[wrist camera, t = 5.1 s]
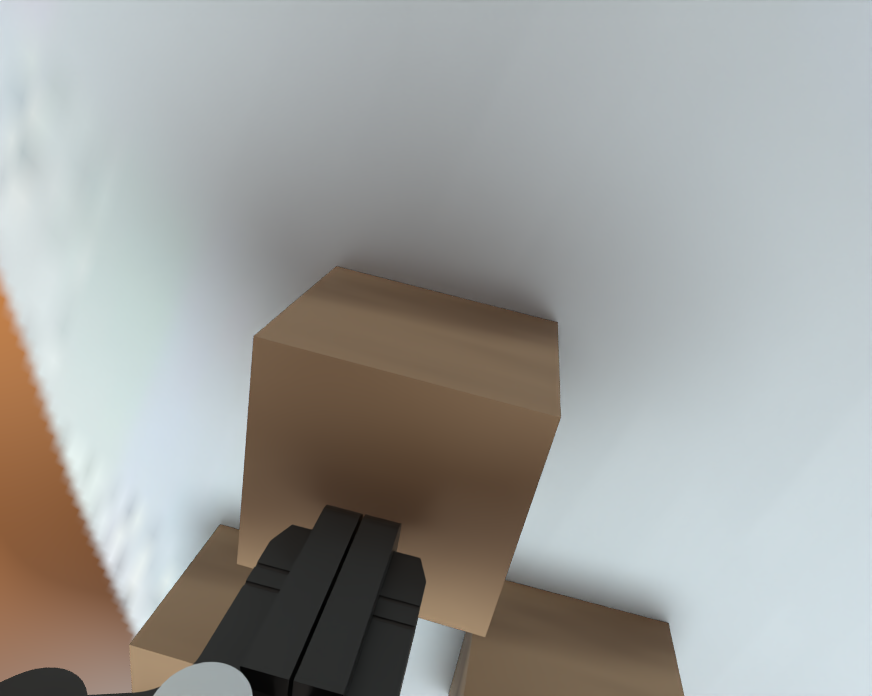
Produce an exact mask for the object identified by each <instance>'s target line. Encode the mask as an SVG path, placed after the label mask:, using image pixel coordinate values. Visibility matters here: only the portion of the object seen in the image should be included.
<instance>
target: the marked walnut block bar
mask: <svg viewBox="0 0 872 696" xmlns="http://www.w3.org/2000/svg"><path fill="white" fill-rule="evenodd" d="M448 696H684V693H683V688H682V683H681V679H680V674H679V669H678V665H677V660H676V656H675V651H674V646H673V642H672V637H671V632H670V628H669V623H666V622H662V621H658V620H655V619H651V618H647V617H643V616H639V615H636V614H632V613H628V612H624V611H620V610H617V609H613V608H609V607H605V606H602V605H598V604H594V603H590V602H586V601H583V600H579V599H575V598H571V597H567V596H564V595H560V594H556V593H552V592H548V591H545V590H541V589H537V588H533V587H530V586H526V585H522V584H518V583H514V582H511V581H507V580H505V581H504V584H503V587H502V590H501V593H500V595H499V598H498V601H497V604H496V607H495V610H494V613H493V616H492V619H491V622H490V625H489V627H488V630H487V633H486V636H485V637H483V636H479V635H476V634H472V633H469V632H465V636H464V639H463V643H462V647H461V650H460V654H459V658H458V661H457V665H456V669H455V672H454V676H453V680H452V684H451V687H450V691H449V695H448Z"/></svg>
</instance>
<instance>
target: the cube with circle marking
mask: <svg viewBox="0 0 872 696" xmlns="http://www.w3.org/2000/svg"><path fill="white" fill-rule="evenodd" d="M238 542H239V529H235V528H232V527H228V526H224V525H221V524H220V525H219V527H218V528H217V529H216V531H215V532H214V533H213V534H212V536H211V537H210V538H209V540H208V541H207V542H206V544H205V545H204V546H203V548H202V549H201V550H200V552H199V553H198V554H197V556H196V557H195V558H194V560H193V561H192V562H191V564H190V565H189V566H188V568H187V569H186V570H185V572H184V573H183V574H182V575H181V577H180V578H179V579H178V581H177V582H176V583H175V585H174V586H173V587H172V589H171V590H170V591H169V593H168V594H167V595H166V597H165V598H164V599H163V601H162V602H161V603H160V605H159V606H158V607H157V609H156V610H155V611H154V613H153V614H152V615H151V617H150V618H149V619H148V620H147V622H146V623H145V624H144V626H143V627H142V628H141V630H140V631H139V632H138V634H137V635H136V636H135V638H134V639H133V640H132V642H131V643H130V644H129V649H130V664H131V665H130V666H131V681H132V682H131V683H132V693H135V692H143V691H147V690H151V689H155V688H157V687H160V686H161V685H162V684H163V683H164V682H165V681H166V680H167V679H168V678H170V677H171V676H172V675H174V674H175V673H177V672H178V671H180V670H182V669H184V668H186V667H189V666H191V665H193V664H194V663H195V662H196V660H197V659H198V658H199V656H200V655H201V653H202V652H203V650H204V648H205V647H206V645H207V643H208V642H209V640H210V639H211V637H212V635H213V634H214V632H215V630H216V629H217V627H218V625H219V624H220V622H221V620H222V619H223V617H224V616H225V614H226V612H227V611H228V609H229V607H230V606H231V604H232V602H233V601H234V599H235V598H236V596H237V594H238V593H239V591H240V589H241V588H242V586H243V585H245V583H246V580H247V578H248V576H249V575H250V573H251V571H252V570H253V568H249V567H246V566H243V565H239V564H237V555H238Z"/></svg>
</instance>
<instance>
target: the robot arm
mask: <svg viewBox="0 0 872 696" xmlns="http://www.w3.org/2000/svg"><path fill="white" fill-rule="evenodd" d="M400 531H401V523H397V522H394V521H390V520H386V519H382V518H378V517H374V516H370V515H367V514H365V516H364V517H363V514H362V513H358V512H354V511H350V510H347V509H343V508H339V507H335V506H331V505H326V506H325V507H324V508H323V510H322V512H321V514H320V516H319V518H318V520H317V521H316V523H315V525H314V527H313V529H308V528H304V527H300V526H296V525H293V524H292V525H291V526H289V527H288V528H287V529H285V530H284V531H283V532H281V533H280V534H278V535H277V536H276V537H274V538H273V539H272V540H270V542H269V543H268V545H267V547H266V548H265V550H264V552H263V553H262V555H261V557H260V558H259V560H258V561H257V565H256V567H254V568H253V570H252V571H251V573H250V575H249V576H248V578H247V580H246V583H245V585H243V586H242V588H241V589H240V591H239V593H238V594H237V596H236V598H235V599H234V601H233V602H232V604H231V606H230V607H229V609H228V611H227V612H226V614H225V616H224V617H223V619H222V620H221V622H220V624H219V625H218V627H217V629H216V630H215V632H214V634H213V635H212V637H211V639H210V640H209V642H208V643H207V645H206V647H205V648H204V650H203V652H202V653H201V655H200V656H199V658H198V659H197V660H196V662H195V663H194V664H193V665H191V666H189V667H186V668H184V669H182V670H180V671H178V672H177V673H175V674H174V675H172V676H171V677H170V678H168V679H167V680H166V681H165V682H164V683H163V684H162V685H161V686H160V687H157V688H155V689H151V690H147V691H143V692H135V693H119V694H101V695H87V691H86V687H85V685H84V683H83V681H82V680H81V679H80V678H79V677H78V676H77V675H75V674H74V673H72V672H70V671H68V670H65V669H60V668H40V669H34V670H30V671H26V672H24V673H21V674H18V675H16V676H13V677H11V678H9V679H7V680H4V681H2V682H0V696H400V692H401V688H402V683H403V679H404V675H405V671H406V667H407V663H408V658H409V654H410V650H411V646H412V642H413V638H414V633H415V629H416V625H417V620H418V616H419V612H420V607H421V603H422V599H423V594H424V590H425V585H426V578H425V574H424V570H423V566H422V562H421V558H419V557H415V556H411V555H407V554H403V553H400V552H397V547H398V542H399V537H400Z"/></svg>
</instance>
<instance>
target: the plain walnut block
mask: <svg viewBox="0 0 872 696" xmlns="http://www.w3.org/2000/svg"><path fill="white" fill-rule="evenodd" d="M560 418H561V409H560V378H559V347H558V322H554V321H550V320H546V319H542V318H538V317H534V316H530V315H527V314H523V313H519V312H515V311H511V310H507V309H503V308H499V307H495V306H491V305H487V304H483V303H479V302H475V301H471V300H467V299H463V298H460V297H456V296H452V295H448V294H444V293H440V292H436V291H432V290H428V289H424V288H420V287H416V286H412V285H408V284H404V283H400V282H397V281H393V280H389V279H385V278H381V277H377V276H373V275H369V274H365V273H361V272H357V271H353V270H349V269H345V268H341V267H337V266H336V267H335V268H334V269H332V270H331V271H330V272H329V273H328V274H326V275H325V276H324V277H323V278H322V279H321V280H319V281H318V282H317V283H316V284H315V285H313V286H312V287H311V288H310V289H309V290H308V291H306V292H305V293H304V294H303V295H302V296H300V297H299V298H298V299H297V300H296V301H295V302H293V303H292V304H291V305H290V306H289V307H287V308H286V309H285V310H284V311H283V312H282V313H280V314H279V315H278V316H277V317H276V318H274V319H273V320H272V321H271V322H270V323H269V324H267V325H266V326H265V327H264V328H263V329H261V330H260V331H259V332H258V333H257V334H256V335H254V338H253V351H252V365H251V379H250V392H249V406H248V419H247V433H246V447H245V460H244V474H243V487H242V501H241V515H240V528H239V542H238V555H237V564H239V565H243V566H246V567H249V568H254V567H256V565H257V561H258V560H259V558H260V557H261V555H262V553H263V552H264V550H265V548H266V547H267V545H268V543H269V542H270V540H272V539H273V538H274V537H276V536H277V535H278V534H280V533H281V532H283V531H284V530H285V529H287V528H288V527H289V526H291V525H292V524H293V525H296V526H300V527H304V528H308V529H313V527H314V525H315V523H316V521H317V520H318V518H319V516H320V514H321V512H322V510H323V508H324V507H325V506H326V505H331V506H335V507H339V508H343V509H347V510H350V511H354V512H358V513H362V514H363V517H364V516H365V514H367V515H370V516H374V517H378V518H382V519H386V520H390V521H394V522H397V523H401V531H400V537H399V542H398V547H397V552H400V553H403V554H407V555H411V556H415V557H419V558H421V562H422V566H423V570H424V574H425V578H426V585H425V590H424V594H423V599H422V603H421V607H420V612H419V616H418V618H422V619H425V620H428V621H432V622H435V623H439V624H442V625H445V626H449V627H452V628H455V629H459V630H462V631H466V632H469V633H472V634H476V635H479V636H483V637H485V636H486V633H487V630H488V627H489V625H490V622H491V619H492V616H493V613H494V610H495V607H496V604H497V601H498V598H499V595H500V593H501V590H502V587H503V584H504V581H505V578H506V575H507V572H508V569H509V566H510V564H511V561H512V558H513V555H514V552H515V549H516V546H517V543H518V540H519V537H520V534H521V532H522V529H523V526H524V523H525V520H526V517H527V514H528V511H529V508H530V505H531V503H532V500H533V497H534V494H535V491H536V488H537V485H538V482H539V479H540V476H541V474H542V471H543V468H544V465H545V462H546V459H547V456H548V453H549V450H550V447H551V444H552V442H553V439H554V436H555V433H556V430H557V427H558V424H559V421H560Z"/></svg>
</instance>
